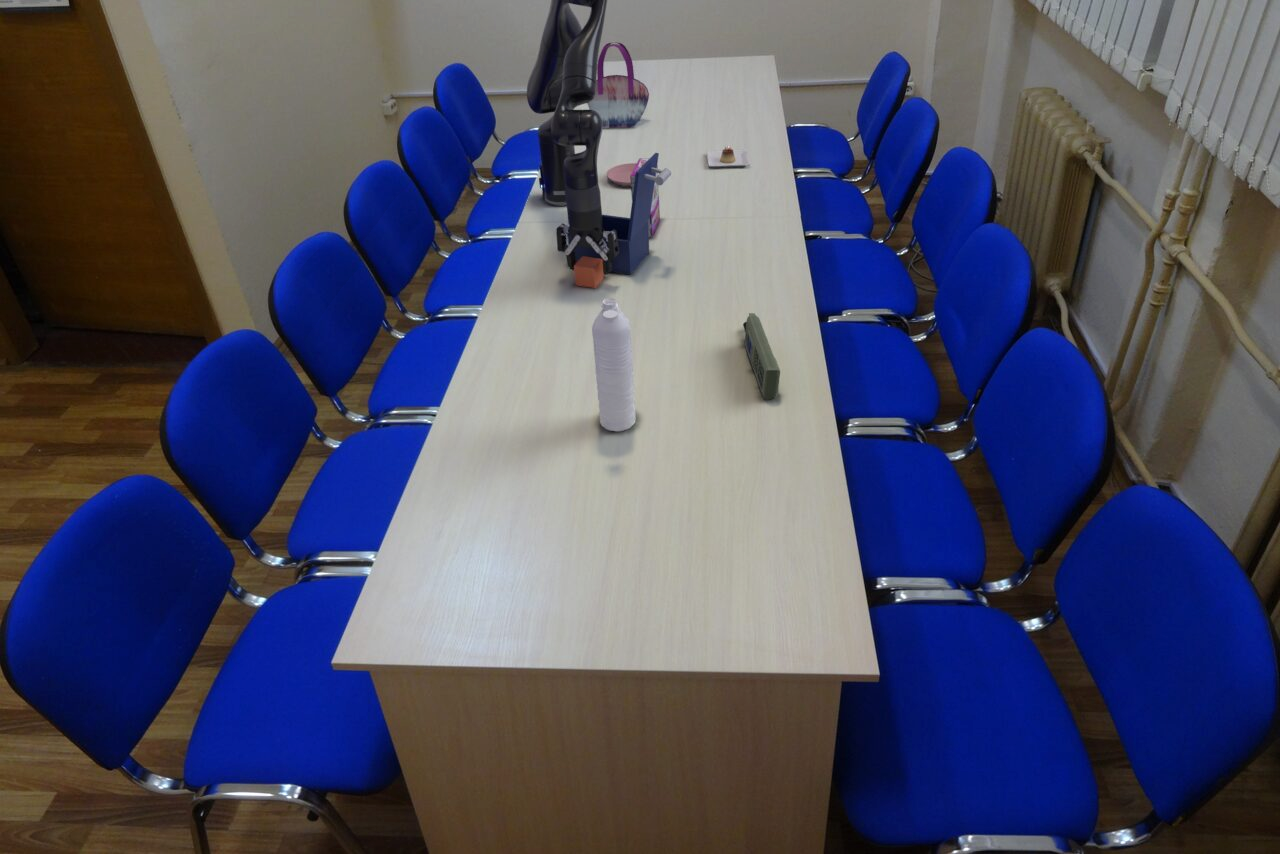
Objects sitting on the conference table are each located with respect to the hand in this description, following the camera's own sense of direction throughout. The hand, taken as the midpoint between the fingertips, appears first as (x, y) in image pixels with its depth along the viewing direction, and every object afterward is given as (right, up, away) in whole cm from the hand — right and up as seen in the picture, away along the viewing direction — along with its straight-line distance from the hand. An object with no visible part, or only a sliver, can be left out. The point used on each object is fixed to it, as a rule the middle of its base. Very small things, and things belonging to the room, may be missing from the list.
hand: (589, 270), depth 196 cm
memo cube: (0, -2, +2) cm, 3 cm away
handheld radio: (+35, -23, -27) cm, 50 cm away
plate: (+9, +35, +49) cm, 61 cm away
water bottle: (+8, -36, -41) cm, 55 cm away
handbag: (+4, +65, +88) cm, 109 cm away
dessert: (+38, +43, +57) cm, 81 cm away
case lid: (+12, +16, -3) cm, 20 cm away
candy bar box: (+13, +15, +23) cm, 31 cm away
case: (+4, +5, +11) cm, 12 cm away
